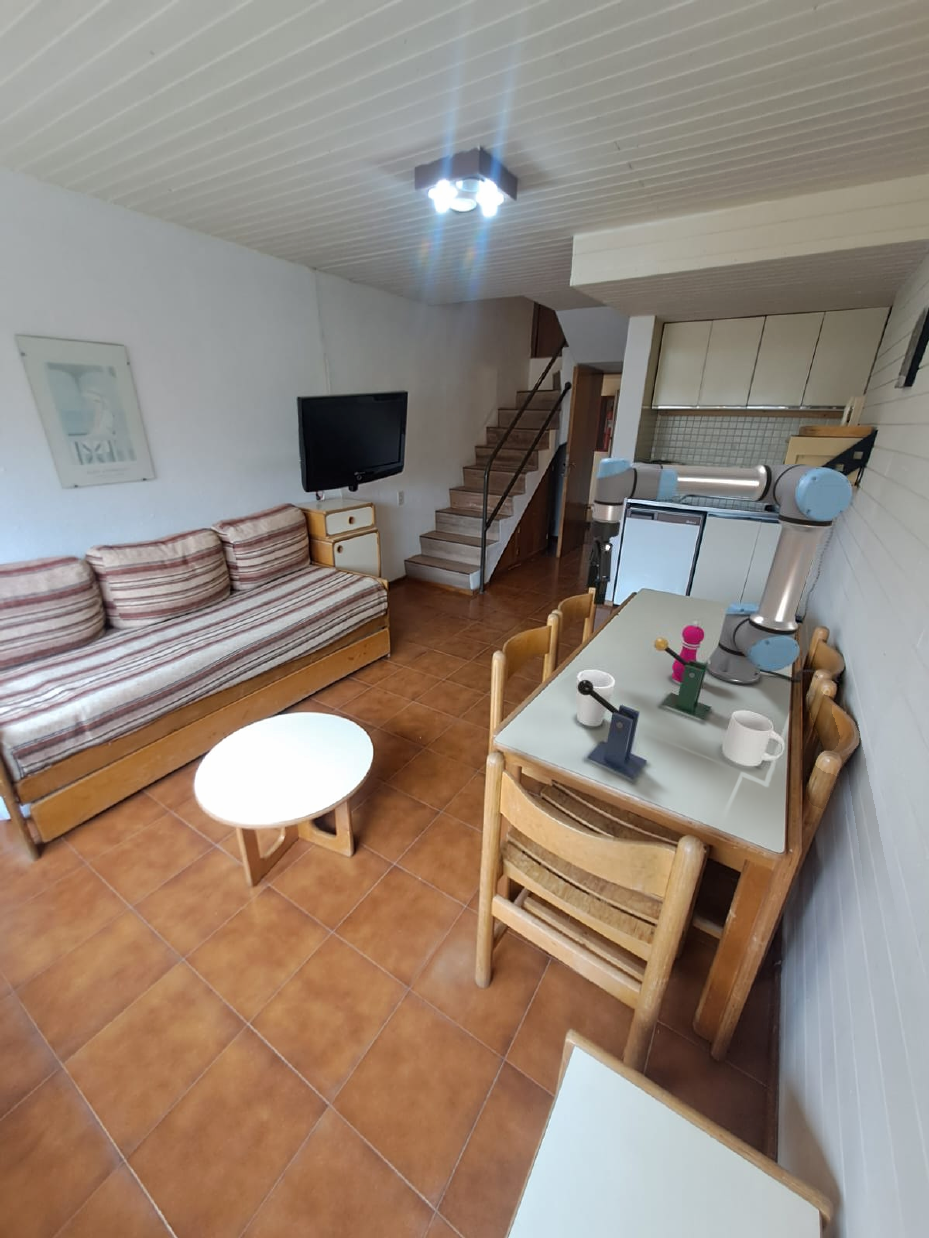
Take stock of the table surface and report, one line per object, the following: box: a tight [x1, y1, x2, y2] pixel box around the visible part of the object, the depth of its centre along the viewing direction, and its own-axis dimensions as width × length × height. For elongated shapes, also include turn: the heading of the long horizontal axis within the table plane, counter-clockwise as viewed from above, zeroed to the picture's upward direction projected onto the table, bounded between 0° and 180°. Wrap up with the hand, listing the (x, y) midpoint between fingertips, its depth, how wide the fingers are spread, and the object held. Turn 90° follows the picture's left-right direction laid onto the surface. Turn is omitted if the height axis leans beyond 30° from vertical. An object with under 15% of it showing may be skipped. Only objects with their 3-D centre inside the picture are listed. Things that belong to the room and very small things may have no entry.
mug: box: [721, 709, 786, 767], centre depth 115 cm, size 9×12×11 cm
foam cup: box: [575, 669, 616, 727], centre depth 127 cm, size 10×9×13 cm
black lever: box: [578, 680, 634, 720], centre depth 112 cm, size 14×4×4 cm, turn 51°
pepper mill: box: [671, 620, 705, 683], centre depth 148 cm, size 7×7×20 cm
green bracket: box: [661, 660, 712, 720], centre depth 134 cm, size 11×8×14 cm
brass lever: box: [653, 637, 702, 670], centre depth 134 cm, size 14×4×4 cm, turn 51°
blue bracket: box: [587, 704, 647, 780], centre depth 112 cm, size 11×8×14 cm
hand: (594, 595), depth 138 cm, fingers open, 13 cm apart
